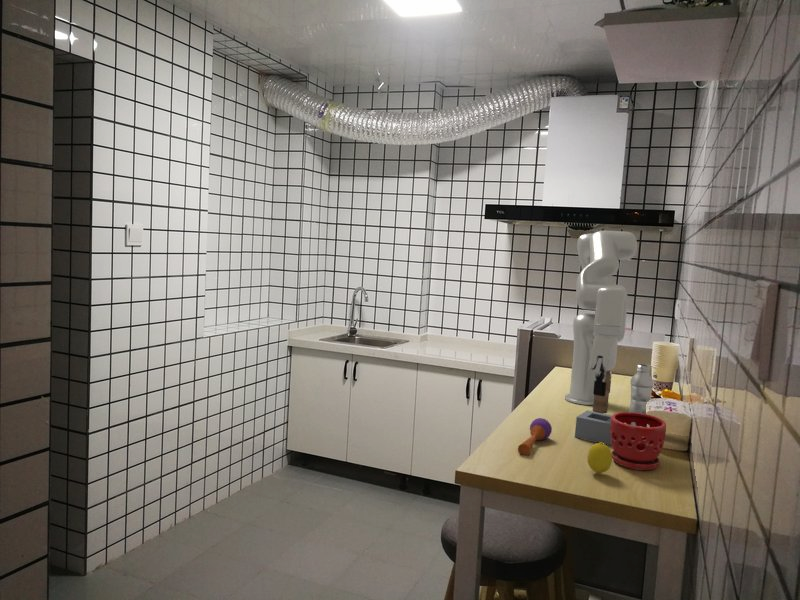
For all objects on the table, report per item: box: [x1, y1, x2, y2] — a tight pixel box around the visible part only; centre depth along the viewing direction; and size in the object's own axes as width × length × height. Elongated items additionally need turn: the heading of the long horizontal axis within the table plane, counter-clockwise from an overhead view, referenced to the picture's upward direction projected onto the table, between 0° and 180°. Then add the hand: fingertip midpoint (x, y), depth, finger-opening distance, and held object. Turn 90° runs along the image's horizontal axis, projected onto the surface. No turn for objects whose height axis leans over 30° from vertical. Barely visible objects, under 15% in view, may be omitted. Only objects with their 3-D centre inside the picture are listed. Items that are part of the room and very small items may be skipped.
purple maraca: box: [517, 417, 553, 457], centre depth 165 cm, size 6×6×20 cm
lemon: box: [587, 442, 613, 475], centre depth 146 cm, size 6×6×8 cm
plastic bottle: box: [628, 363, 655, 427], centre depth 186 cm, size 6×7×20 cm
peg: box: [592, 369, 612, 414], centre depth 175 cm, size 4×4×14 cm
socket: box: [574, 409, 613, 446], centre depth 176 cm, size 10×10×6 cm
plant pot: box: [610, 411, 667, 471], centre depth 154 cm, size 13×13×12 cm
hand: (601, 393), depth 175 cm, fingers closed on peg, 4 cm apart
